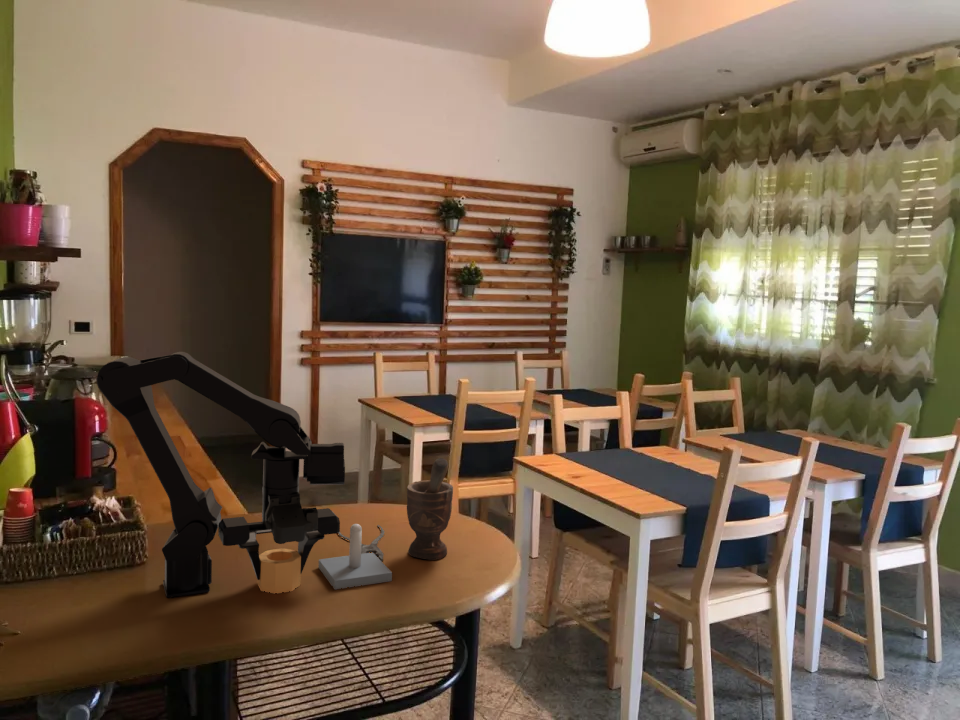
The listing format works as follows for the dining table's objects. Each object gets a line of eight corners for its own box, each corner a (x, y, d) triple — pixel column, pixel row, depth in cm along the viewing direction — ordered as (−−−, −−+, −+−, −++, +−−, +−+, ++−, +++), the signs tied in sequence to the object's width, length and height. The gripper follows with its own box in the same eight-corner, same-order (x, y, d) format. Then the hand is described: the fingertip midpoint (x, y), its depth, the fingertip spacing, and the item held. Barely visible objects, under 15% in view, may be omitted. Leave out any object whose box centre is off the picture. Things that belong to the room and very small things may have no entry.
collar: (263, 595, 120) (263, 565, 120) (255, 580, 126) (255, 551, 126) (303, 589, 123) (303, 560, 123) (293, 575, 129) (294, 546, 128)
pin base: (334, 589, 124) (336, 536, 123) (318, 567, 133) (319, 518, 132) (391, 580, 129) (393, 530, 128) (372, 560, 137) (374, 512, 136)
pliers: (376, 521, 158) (416, 554, 140) (376, 525, 158) (416, 558, 140) (331, 526, 153) (367, 561, 136) (331, 530, 153) (367, 565, 136)
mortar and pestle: (469, 562, 139) (474, 456, 137) (430, 571, 133) (435, 461, 131) (433, 543, 148) (437, 443, 146) (395, 551, 142) (399, 448, 140)
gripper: (229, 504, 111) (228, 604, 113) (351, 493, 120) (348, 586, 122) (218, 484, 121) (217, 577, 123) (331, 475, 130) (329, 562, 132)
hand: (279, 576), depth 125 cm, fingers closed on collar, 6 cm apart
